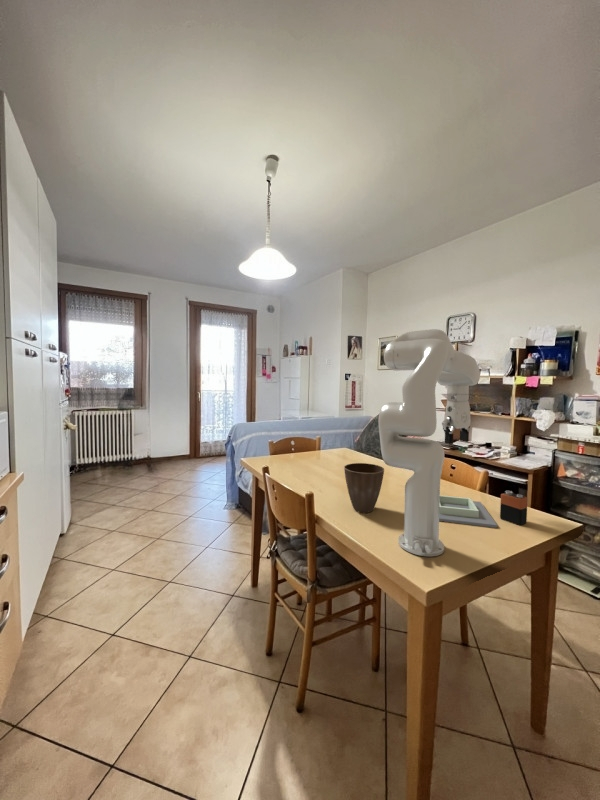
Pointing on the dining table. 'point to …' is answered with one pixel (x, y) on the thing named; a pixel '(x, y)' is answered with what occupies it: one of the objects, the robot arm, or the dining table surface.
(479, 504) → the slot tray
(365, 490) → the plant pot
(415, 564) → the dining table surface
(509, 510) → the battery
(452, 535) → the dining table surface
